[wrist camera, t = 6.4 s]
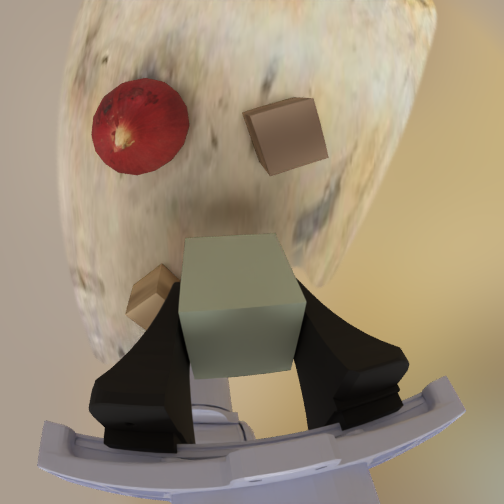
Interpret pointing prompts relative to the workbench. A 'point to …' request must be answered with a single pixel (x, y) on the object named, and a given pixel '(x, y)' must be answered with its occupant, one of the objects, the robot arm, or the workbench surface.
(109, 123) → the onion
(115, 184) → the workbench surface
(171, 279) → the oak block
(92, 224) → the workbench surface
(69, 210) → the workbench surface
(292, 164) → the walnut block
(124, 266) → the workbench surface
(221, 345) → the sage block
